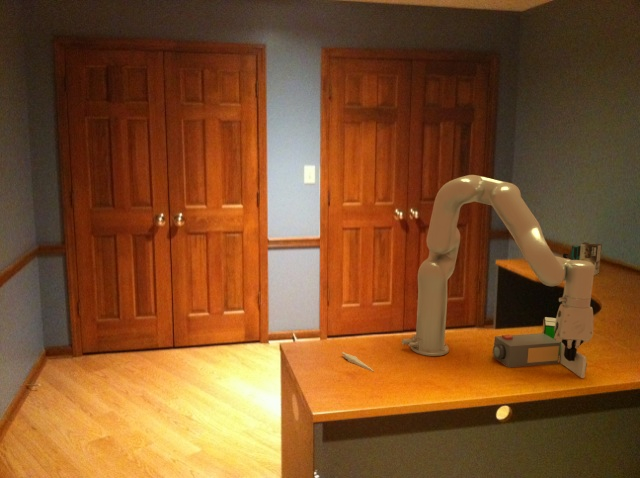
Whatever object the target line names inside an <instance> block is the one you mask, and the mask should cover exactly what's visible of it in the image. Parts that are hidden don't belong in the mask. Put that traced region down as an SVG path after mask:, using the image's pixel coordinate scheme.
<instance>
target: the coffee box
mask: <svg viewBox="0 0 640 478" xmlns="http://www.w3.org/2000/svg"><path fill="white" fill-rule="evenodd" d="M580 246H581V250H580V260H583V261H588V262H591V263H592V264H593V265H594V267H595V269H594V276H596V275H598V273H599V274H600V266H601V255H602V244H601V243H592V242H586V241H585V242H583V243H580Z"/></svg>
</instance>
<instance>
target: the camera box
mask: <svg viewBox="0 0 640 478" xmlns="http://www.w3.org/2000/svg"><path fill="white" fill-rule="evenodd" d="M493 342H494V343H493V348H492V351H493V352H492V353H493V354H492V357H493V358H494V359H495V360H497V361H498V362H499V363H501V364H503V366H506V367H507V368H518V367H519V368H520V367H521V368H522V367H532V366H541V365H543V366H545V365H555V364H560V363H559V358H560V356H559V353H560V342H558V341H556V340H554V339H553V338H551V337H549V336H548V335H546V334H544V333H542V332H541V333H539V332H538V333H524V334H513V335H511V334H501V335H498V336H494V341H493Z"/></svg>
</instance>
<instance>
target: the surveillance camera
mask: <svg viewBox="0 0 640 478" xmlns="http://www.w3.org/2000/svg"><path fill="white" fill-rule="evenodd" d="M580 250H581V245H574V244H573V245H571V250H570V251H569V254H568V253H563V255H562V258H565V259H570V260H580Z"/></svg>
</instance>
